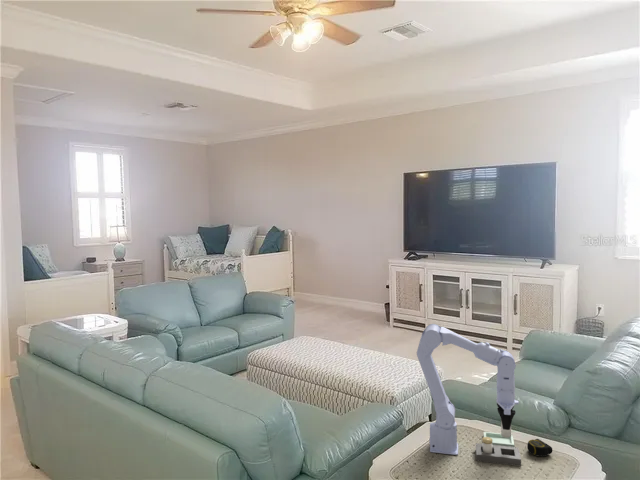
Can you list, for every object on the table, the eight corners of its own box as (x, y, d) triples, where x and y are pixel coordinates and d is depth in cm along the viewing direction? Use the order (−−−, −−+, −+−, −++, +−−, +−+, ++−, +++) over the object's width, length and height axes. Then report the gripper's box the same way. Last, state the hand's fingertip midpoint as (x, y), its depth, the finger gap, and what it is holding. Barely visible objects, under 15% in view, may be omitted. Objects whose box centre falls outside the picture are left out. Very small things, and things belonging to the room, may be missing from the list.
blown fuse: (501, 437, 164) (501, 419, 163) (500, 432, 167) (500, 415, 166) (511, 438, 163) (511, 420, 162) (510, 433, 166) (510, 416, 165)
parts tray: (484, 446, 172) (484, 441, 172) (483, 435, 180) (483, 431, 180) (514, 449, 169) (514, 444, 169) (512, 438, 177) (512, 434, 177)
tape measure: (553, 456, 164) (553, 445, 164) (537, 460, 162) (537, 449, 162) (538, 447, 170) (538, 436, 170) (522, 450, 168) (522, 440, 168)
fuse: (482, 458, 164) (482, 441, 164) (482, 453, 167) (482, 436, 167) (492, 459, 163) (492, 442, 163) (492, 454, 166) (492, 437, 166)
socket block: (476, 460, 162) (476, 454, 162) (475, 449, 170) (475, 443, 170) (521, 465, 158) (521, 459, 158) (518, 453, 166) (518, 447, 166)
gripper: (520, 397, 156) (520, 437, 156) (516, 381, 169) (516, 418, 170) (497, 395, 158) (497, 435, 159) (495, 379, 172) (495, 416, 172)
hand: (506, 426), depth 165 cm, fingers closed on blown fuse, 3 cm apart
